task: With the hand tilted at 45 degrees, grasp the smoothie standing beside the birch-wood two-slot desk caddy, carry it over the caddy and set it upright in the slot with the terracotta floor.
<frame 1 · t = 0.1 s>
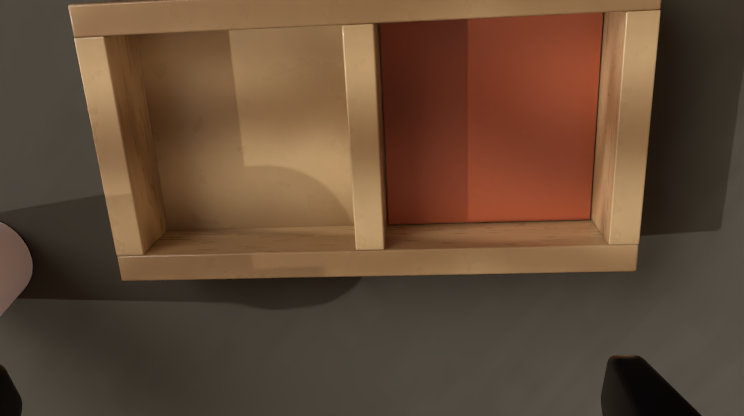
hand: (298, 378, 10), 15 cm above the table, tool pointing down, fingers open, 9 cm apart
caddy: (370, 124, 24), on the table
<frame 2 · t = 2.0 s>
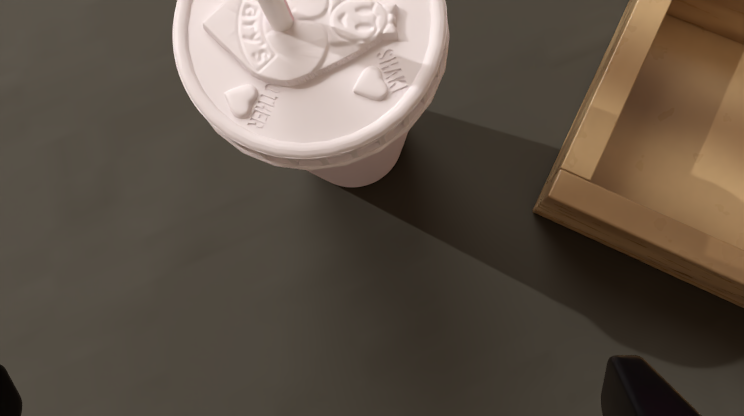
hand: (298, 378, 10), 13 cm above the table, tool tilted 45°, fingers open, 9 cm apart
smoothie: (353, 139, 24), on the table
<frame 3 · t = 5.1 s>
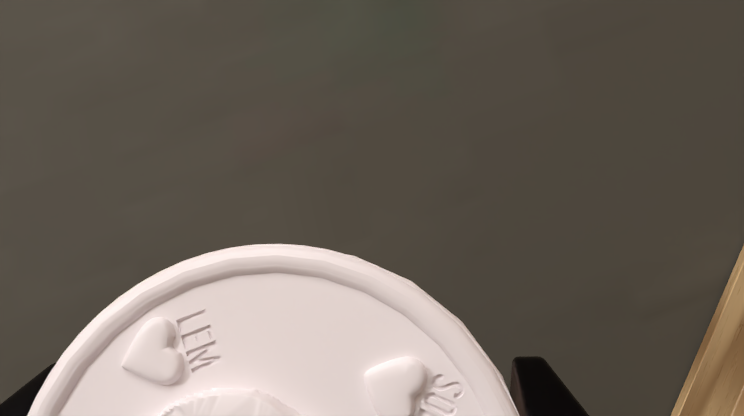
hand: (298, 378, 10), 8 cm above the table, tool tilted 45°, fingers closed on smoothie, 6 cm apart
smoothie: (354, 414, 17), on the table, touching gripper
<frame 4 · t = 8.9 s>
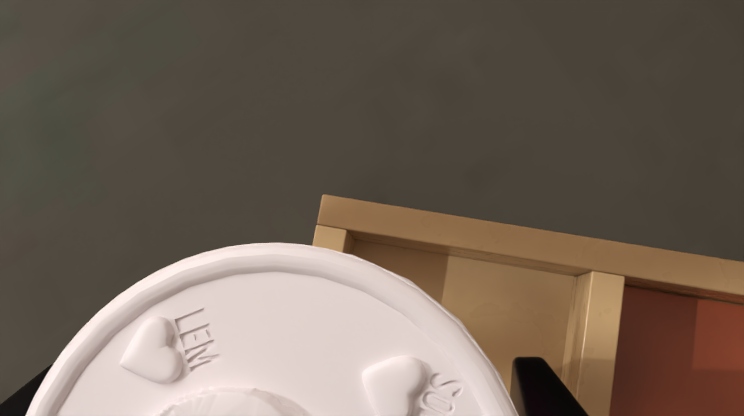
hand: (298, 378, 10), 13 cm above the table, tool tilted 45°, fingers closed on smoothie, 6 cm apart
smoothie: (353, 413, 17), point 5 cm above the table, touching gripper
caddy: (571, 391, 22), on the table
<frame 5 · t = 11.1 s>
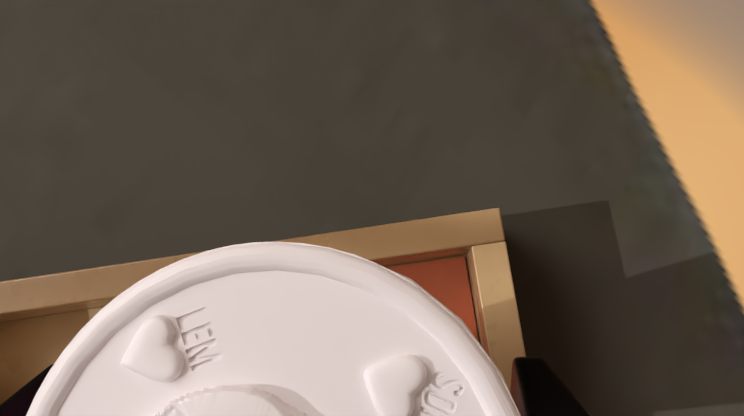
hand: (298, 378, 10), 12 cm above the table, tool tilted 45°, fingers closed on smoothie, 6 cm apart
smoothie: (354, 412, 17), point 4 cm above the table, touching gripper
caddy: (240, 404, 22), on the table
when the fingers open (8 cm above the table, at t = 12.8 s): smoothie stays where it is, resting on caddy.
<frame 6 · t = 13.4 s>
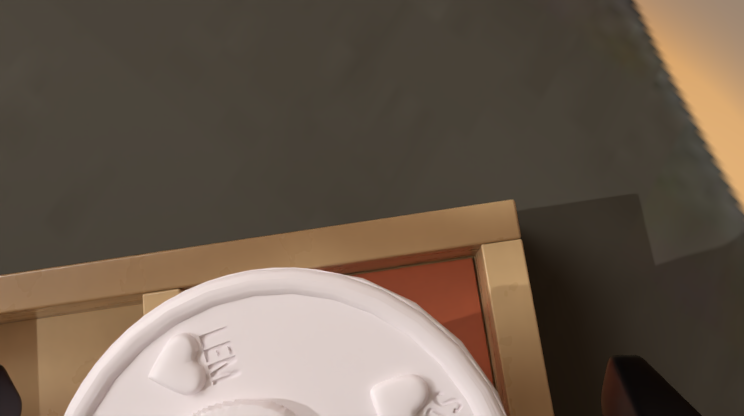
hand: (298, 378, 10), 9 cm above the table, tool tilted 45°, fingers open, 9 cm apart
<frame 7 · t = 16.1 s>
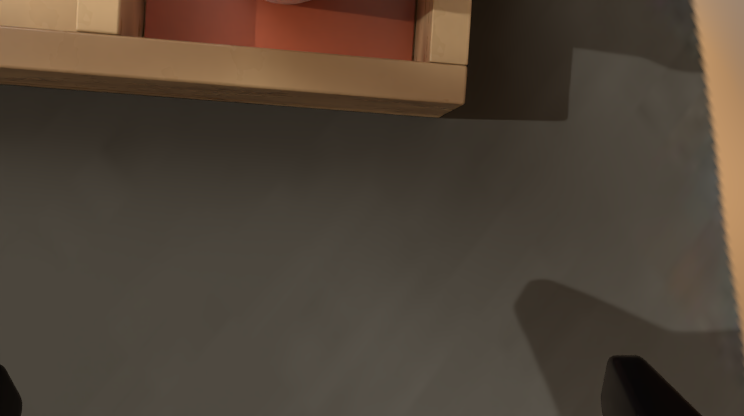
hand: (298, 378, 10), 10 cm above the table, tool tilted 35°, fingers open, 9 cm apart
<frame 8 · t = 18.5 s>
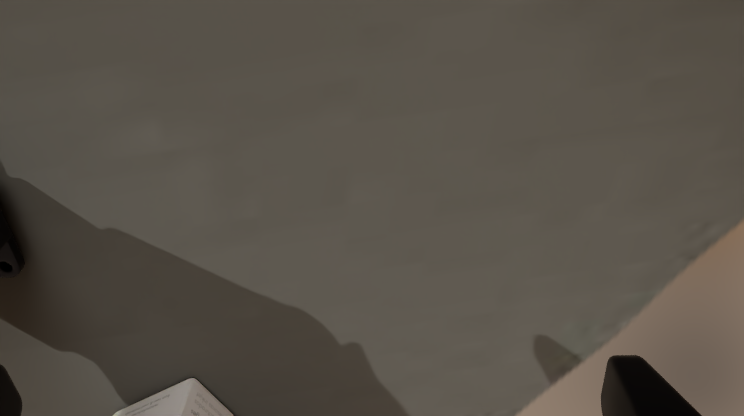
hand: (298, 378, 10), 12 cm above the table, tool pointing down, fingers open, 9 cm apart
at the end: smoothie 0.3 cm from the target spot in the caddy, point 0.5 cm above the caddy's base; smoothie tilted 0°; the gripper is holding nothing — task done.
